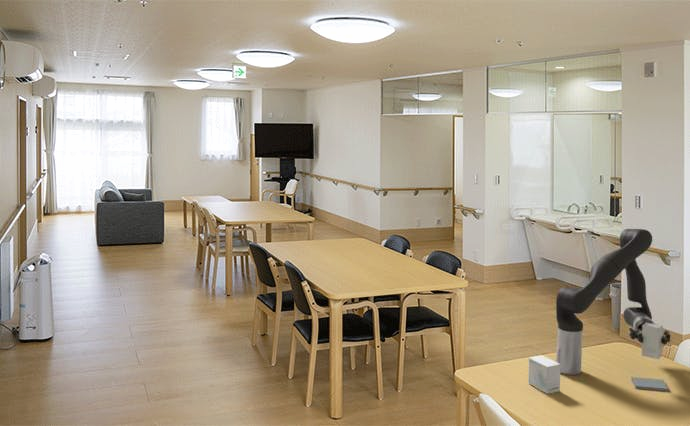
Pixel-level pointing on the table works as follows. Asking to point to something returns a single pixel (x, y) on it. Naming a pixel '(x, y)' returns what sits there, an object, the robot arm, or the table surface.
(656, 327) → the skincare box
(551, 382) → the skincare box
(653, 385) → the mat
